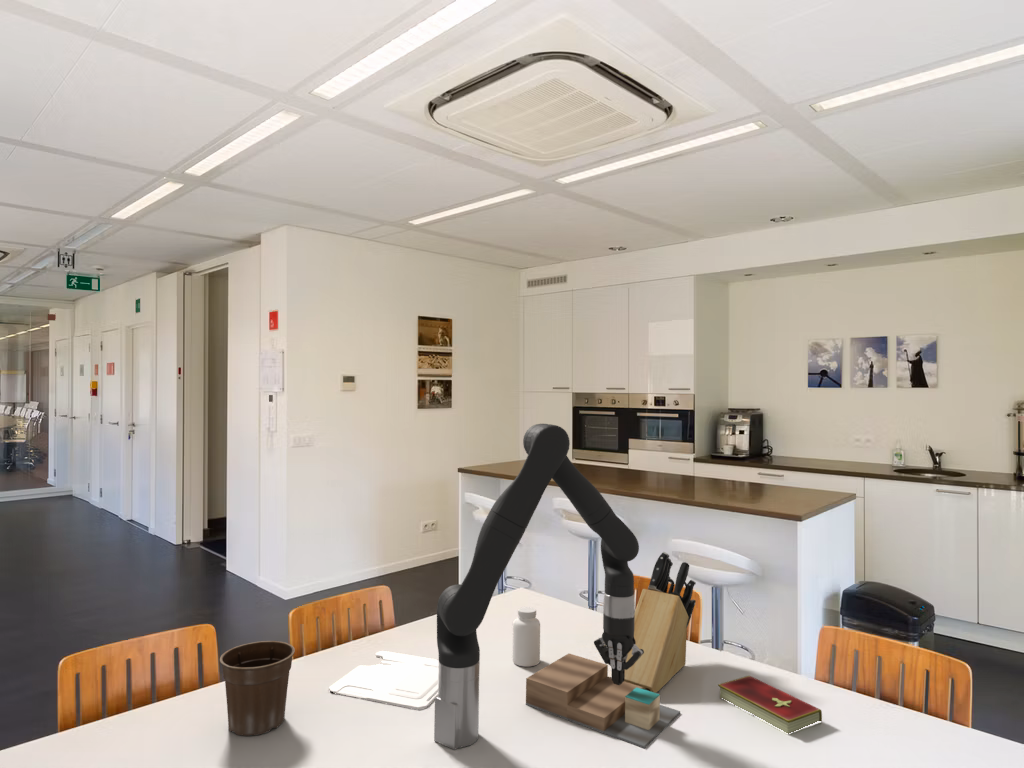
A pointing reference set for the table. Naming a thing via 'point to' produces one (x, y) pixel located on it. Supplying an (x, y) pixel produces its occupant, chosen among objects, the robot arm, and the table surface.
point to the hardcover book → (770, 703)
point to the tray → (393, 681)
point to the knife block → (661, 627)
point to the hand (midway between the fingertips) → (618, 683)
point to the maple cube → (642, 708)
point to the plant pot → (256, 685)
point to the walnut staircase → (590, 699)
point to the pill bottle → (526, 638)
